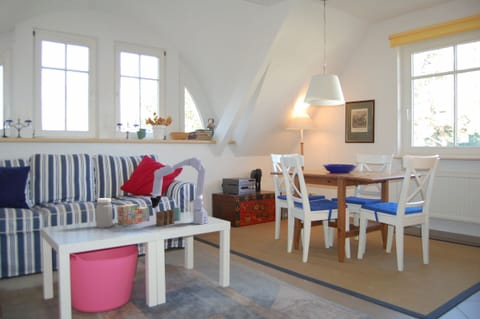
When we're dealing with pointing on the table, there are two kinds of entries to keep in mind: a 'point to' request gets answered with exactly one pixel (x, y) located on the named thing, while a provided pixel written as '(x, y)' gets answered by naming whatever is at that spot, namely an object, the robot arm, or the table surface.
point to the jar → (104, 213)
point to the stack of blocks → (132, 214)
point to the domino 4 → (177, 213)
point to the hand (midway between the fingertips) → (154, 207)
